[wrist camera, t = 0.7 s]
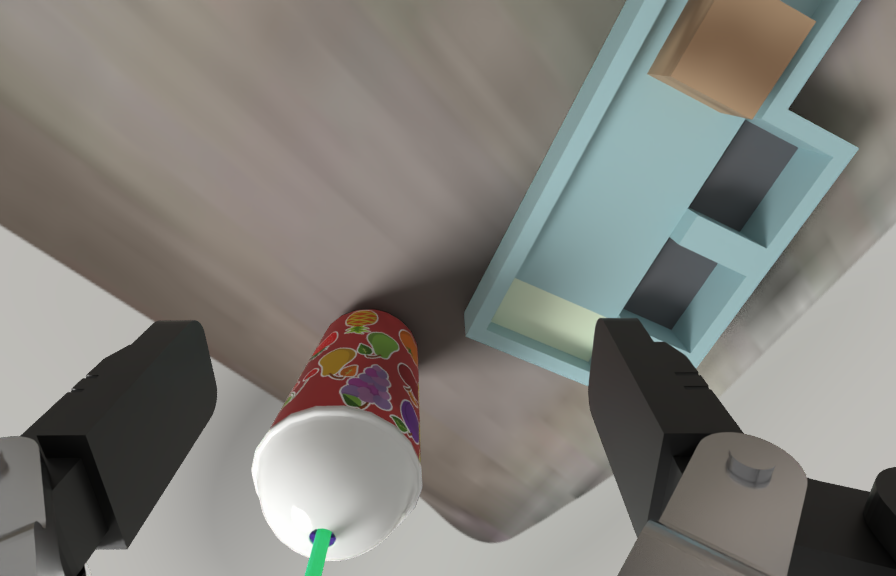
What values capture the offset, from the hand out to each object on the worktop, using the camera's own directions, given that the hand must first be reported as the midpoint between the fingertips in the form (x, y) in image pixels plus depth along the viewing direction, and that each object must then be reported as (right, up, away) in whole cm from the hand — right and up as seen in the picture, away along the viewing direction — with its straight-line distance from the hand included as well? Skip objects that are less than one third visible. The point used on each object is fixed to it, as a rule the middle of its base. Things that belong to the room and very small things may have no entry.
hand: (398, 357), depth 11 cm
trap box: (+15, +9, +23) cm, 29 cm away
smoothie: (-5, -2, +28) cm, 29 cm away
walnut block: (+15, +15, +19) cm, 28 cm away
